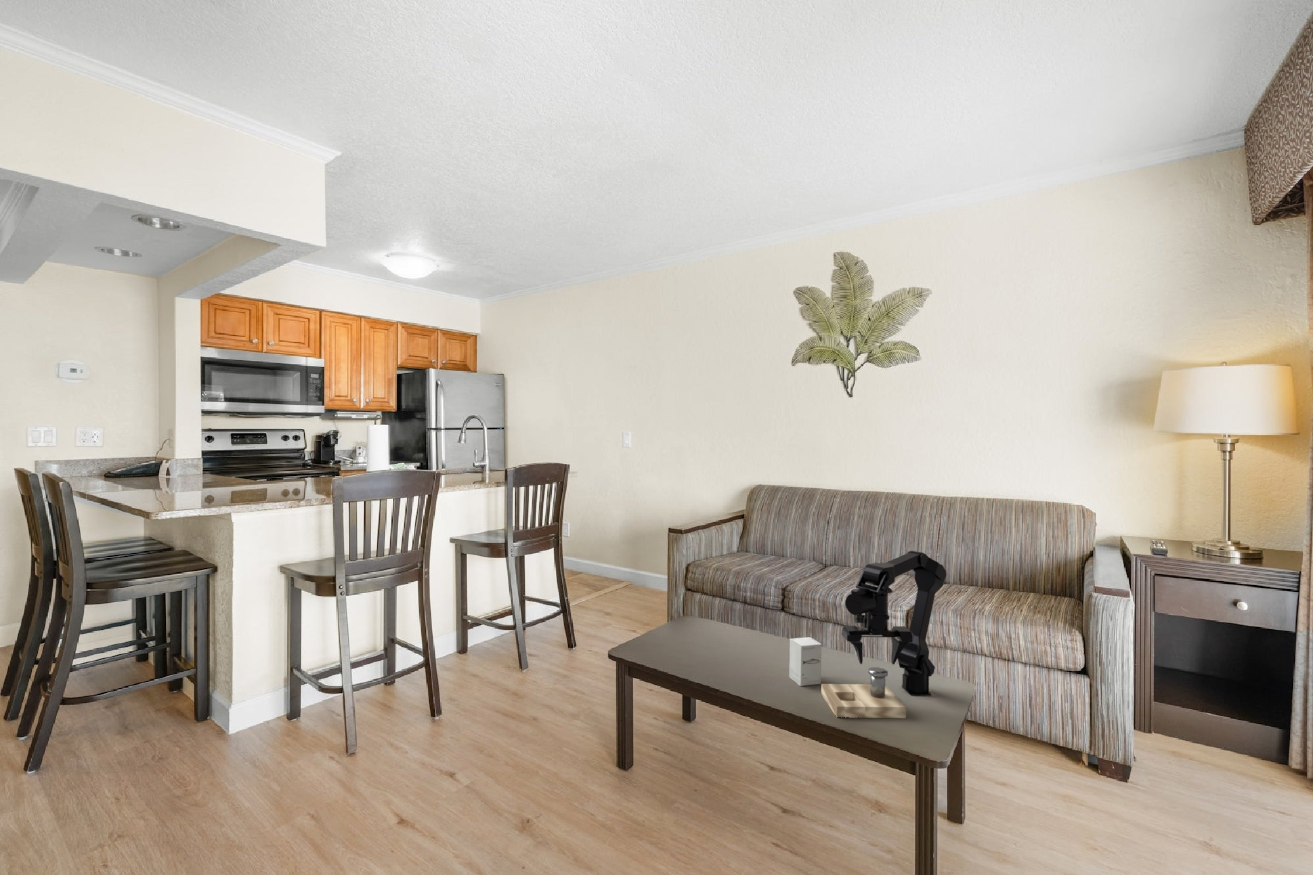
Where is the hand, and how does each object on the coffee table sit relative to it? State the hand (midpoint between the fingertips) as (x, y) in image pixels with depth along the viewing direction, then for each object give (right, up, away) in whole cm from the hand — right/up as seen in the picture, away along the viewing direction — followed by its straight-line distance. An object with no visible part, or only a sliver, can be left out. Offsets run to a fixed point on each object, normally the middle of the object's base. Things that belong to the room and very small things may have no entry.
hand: (876, 663), depth 171 cm
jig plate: (-4, -12, 0) cm, 13 cm away
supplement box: (-16, -12, +17) cm, 26 cm away
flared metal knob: (0, -9, 0) cm, 9 cm away
